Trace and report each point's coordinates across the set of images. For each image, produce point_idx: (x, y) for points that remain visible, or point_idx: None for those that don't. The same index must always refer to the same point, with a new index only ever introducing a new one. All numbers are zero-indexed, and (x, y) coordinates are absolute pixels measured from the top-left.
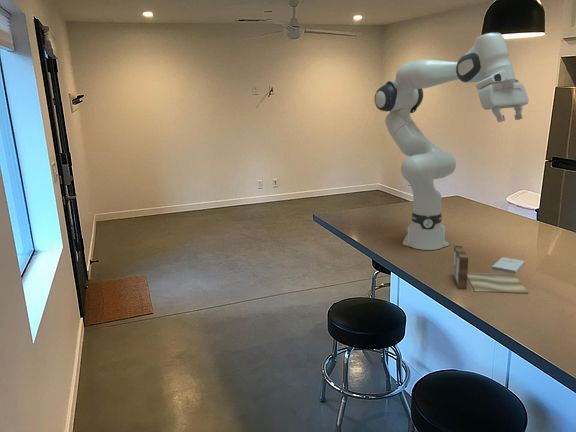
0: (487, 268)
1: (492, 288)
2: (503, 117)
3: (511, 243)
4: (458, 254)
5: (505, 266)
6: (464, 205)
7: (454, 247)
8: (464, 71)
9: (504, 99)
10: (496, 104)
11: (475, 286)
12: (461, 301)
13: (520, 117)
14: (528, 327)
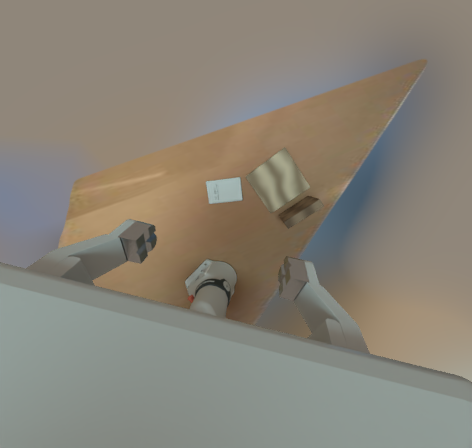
0: (243, 203)
1: (295, 177)
2: (299, 268)
3: (155, 215)
4: (313, 212)
5: (234, 189)
6: None
7: (289, 227)
8: None
9: (285, 414)
10: (436, 383)
11: (300, 191)
12: (338, 186)
13: (145, 224)
14: (361, 117)
